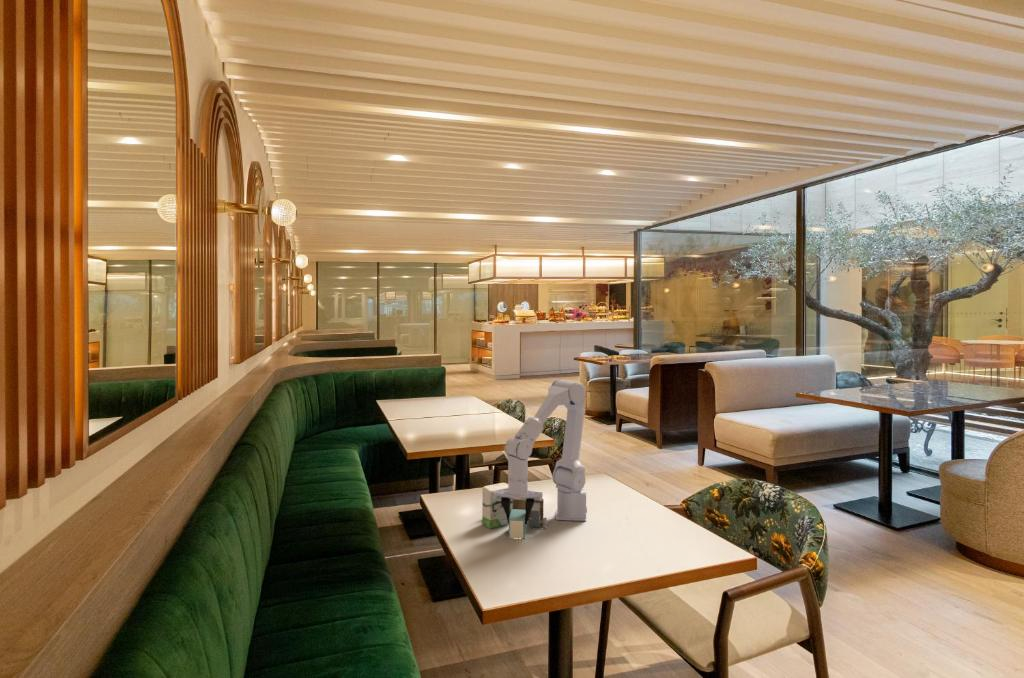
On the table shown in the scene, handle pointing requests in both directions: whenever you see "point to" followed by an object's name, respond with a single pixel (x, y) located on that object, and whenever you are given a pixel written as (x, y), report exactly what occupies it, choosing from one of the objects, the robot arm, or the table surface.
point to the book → (517, 524)
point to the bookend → (537, 517)
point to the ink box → (494, 506)
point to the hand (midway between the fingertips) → (517, 522)
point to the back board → (521, 505)
